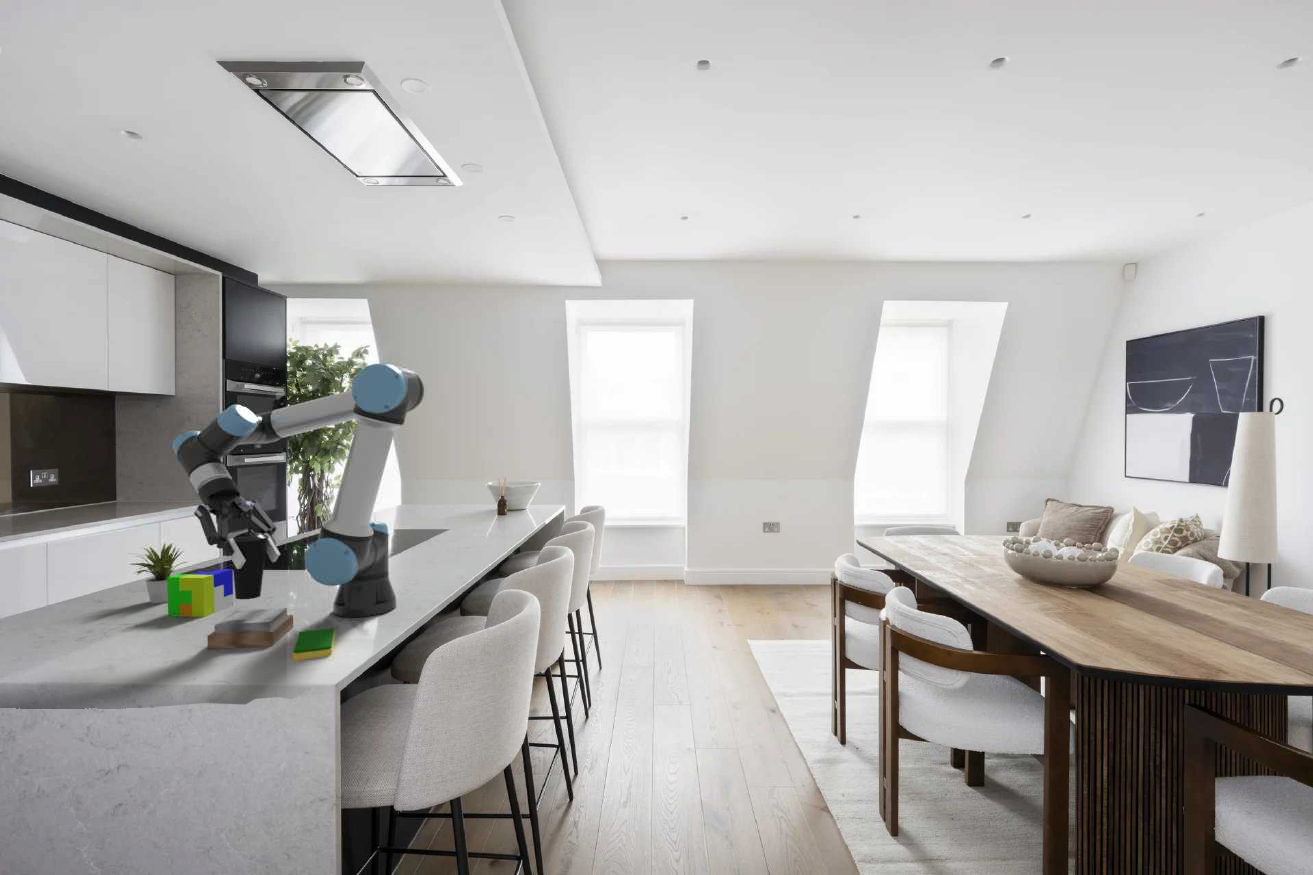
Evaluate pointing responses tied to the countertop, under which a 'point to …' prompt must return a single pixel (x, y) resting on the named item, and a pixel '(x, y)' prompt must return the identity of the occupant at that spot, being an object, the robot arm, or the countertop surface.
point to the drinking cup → (250, 562)
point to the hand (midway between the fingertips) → (259, 561)
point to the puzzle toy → (200, 592)
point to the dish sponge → (314, 644)
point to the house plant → (159, 572)
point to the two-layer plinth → (251, 628)
